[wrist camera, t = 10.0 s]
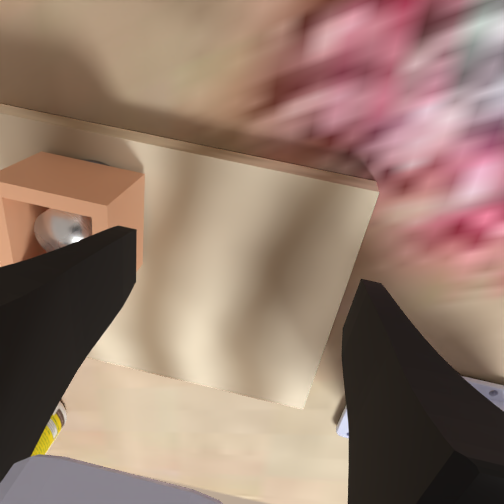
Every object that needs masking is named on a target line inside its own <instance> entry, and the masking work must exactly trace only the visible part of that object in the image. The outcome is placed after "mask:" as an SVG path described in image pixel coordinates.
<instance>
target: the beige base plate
mask: <svg viewBox="0 0 504 504" xmlns="http://www.w3.org/2000/svg"><path fill="white" fill-rule="evenodd" d="M41 151H42V152H47V153H51V154H56V155H61V156H65V157H70V158H74V159H79V160H82V159H89V160H96V161H99V162H103V163H105V164H107V165H109V166H111V167H116V168H120V169H125V170H130V171H134V172H139V173H143V174H145V191H144V232H143V264H142V266H141V267H140V268H139V270H138V271H137V272H136V283H135V285H134V287H133V289H132V291H131V293H130V295H129V297H128V299H127V300H126V302H125V304H124V306H123V307H122V309H121V310H120V312H119V313H118V314H117V316H116V317H115V319H114V320H113V321H112V323H111V324H110V326H109V327H108V328H107V330H106V331H105V332H104V334H103V335H102V336H101V338H100V339H99V340H98V342H97V343H96V345H95V346H94V347H93V349H92V350H91V351H90V353H89V354H88V355H87V357H86V358H89V359H94V360H98V361H102V362H106V363H110V364H114V365H119V366H123V367H127V368H131V369H135V370H139V371H144V372H148V373H152V374H156V375H160V376H164V377H169V378H173V379H177V380H181V381H185V382H189V383H194V384H198V385H202V386H206V387H210V388H214V389H219V390H223V391H227V392H231V393H235V394H239V395H244V396H248V397H252V398H256V399H260V400H264V401H269V402H273V403H277V404H281V405H285V406H289V407H294V408H298V409H302V410H303V409H304V406H305V403H306V400H307V397H308V394H309V392H310V389H311V386H312V383H313V380H314V377H315V374H316V372H317V369H318V366H319V363H320V360H321V357H322V355H323V352H324V349H325V346H326V343H327V340H328V338H329V335H330V332H331V329H332V326H333V323H334V320H335V318H336V315H337V312H338V309H339V306H340V303H341V301H342V298H343V295H344V292H345V289H346V286H347V283H348V281H349V278H350V275H351V272H352V269H353V266H354V264H355V261H356V258H357V255H358V252H359V249H360V246H361V244H362V241H363V238H364V235H365V232H366V229H367V227H368V224H369V221H370V218H371V215H372V212H373V210H374V207H375V204H376V201H377V198H378V195H379V189H378V186H377V183H376V181H373V180H368V179H363V178H358V177H353V176H348V175H344V174H339V173H334V172H329V171H324V170H319V169H315V168H310V167H305V166H300V165H295V164H290V163H285V162H281V161H276V160H271V159H266V158H261V157H256V156H252V155H247V154H242V153H237V152H232V151H227V150H223V149H218V148H213V147H208V146H203V145H198V144H194V143H189V142H184V141H179V140H174V139H169V138H165V137H160V136H155V135H150V134H145V133H140V132H136V131H131V130H126V129H121V128H116V127H111V126H107V125H102V124H97V123H92V122H87V121H82V120H78V119H73V118H68V117H63V116H58V115H53V114H48V113H44V112H39V111H34V110H29V109H24V108H19V107H15V106H10V105H5V104H0V170H2V169H4V168H6V167H8V166H11V165H13V164H15V163H17V162H19V161H21V160H24V159H26V158H28V157H30V156H32V155H35V154H37V153H39V152H41Z"/></svg>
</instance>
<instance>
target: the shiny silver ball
mask: <svg viewBox="0 0 504 504" xmlns="http://www.w3.org/2000/svg"><path fill="white" fill-rule="evenodd" d="M82 160H84V161H88V162H93V163H97V164H102V165H107V164H105V163H103V162H99V161H96V160H89V159H82ZM107 166H109V165H107ZM34 232H35V236H36V238H37V241H38V242H39V244H40V245H41V246H42V248H43V249H44V250H45V251H46V252H50V251H53V250H56V249H58V248H61V247H64V246H67V245H69V244H72V243H74V242H76V241H79V240H81V239H84V238H86V237H89V236H91V235H92V217H88V216H83V215H79V214H75V213H70V212H66V211H61V210H57V209H52V208H49V209H48V210H46V211H45V212H43V213H42V214H40V215H39V216H38V217H37V219H36V221H35V224H34Z"/></svg>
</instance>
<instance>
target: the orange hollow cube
mask: <svg viewBox="0 0 504 504" xmlns="http://www.w3.org/2000/svg"><path fill="white" fill-rule="evenodd" d="M144 191H145V174H143V173H139V172H134V171H130V170H125V169H120V168H116V167H111V166H107V165H102V164H97V163H93V162H88V161H84V160H79V159H74V158H70V157H65V156H61V155H56V154H51V153H47V152H42V151H41V152H39V153H37V154H35V155H32V156H30V157H28V158H26V159H24V160H21V161H19V162H17V163H15V164H13V165H11V166H8V167H6V168H4V169H2V170H0V266H1V267H2V266H6V265H10V264H14V263H17V262H20V261H24V260H27V259H30V258H33V257H36V256H39V255H42V254H44V253H47V252H46V251H45V250H44V249H43V248H42V246H41V245H40V244H39V242H38V241H37V238H36V236H35V232H34V224H35V221H36V219H37V217H38V216H39V215H40V214H42V213H43V212H45V211H46V210H48V209H49V208H52V209H57V210H61V211H66V212H70V213H75V214H79V215H83V216H88V217H92V235H94V234H96V233H99V232H101V231H104V230H106V229H109V228H112V227H115V226H118V225H119V226H123V227H128V228H132V229H137V245H136V272H137V271H138V270H139V268H140V267H141V266H142V264H143V232H144Z"/></svg>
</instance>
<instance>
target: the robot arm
mask: <svg viewBox="0 0 504 504" xmlns="http://www.w3.org/2000/svg"><path fill="white" fill-rule="evenodd" d="M136 245H137V229H132V228H128V227H123V226H119V225H118V226H115V227H112V228H109V229H106V230H104V231H101V232H99V233H96V234H94V235H91V236H89V237H86V238H84V239H81V240H79V241H76V242H74V243H72V244H69V245H67V246H64V247H61V248H58V249H56V250H53V251H50V252H47V253H44V254H42V255H39V256H36V257H33V258H30V259H27V260H24V261H20V262H17V263H14V264H10V265H6V266H2V267H0V504H223V503H222V502H221V501H219V500H217V499H214V498H212V497H210V496H208V495H205V494H202V493H200V492H198V491H195V490H193V489H189V488H185V487H181V486H177V485H173V484H170V483H166V482H162V481H158V480H154V479H150V478H146V477H142V476H138V475H134V474H130V473H126V472H122V471H119V470H115V469H111V468H107V467H103V466H99V465H95V464H91V463H87V462H83V461H79V460H75V459H71V458H67V457H62V456H52V455H41V454H38V455H35V456H31V455H32V453H33V451H34V449H35V447H36V445H37V443H38V441H39V439H40V437H41V435H42V433H43V431H44V429H45V427H46V425H47V424H48V422H49V420H50V418H51V416H52V414H53V413H54V411H55V409H56V407H57V405H58V403H59V402H60V400H61V398H62V396H63V394H64V393H65V391H66V389H67V387H68V386H69V384H70V382H71V381H72V379H73V377H74V375H75V374H76V372H77V370H78V369H79V367H80V366H81V364H82V363H83V361H84V360H85V358H86V357H87V355H88V354H89V353H90V351H91V350H92V349H93V347H94V346H95V345H96V343H97V342H98V340H99V339H100V338H101V336H102V335H103V334H104V332H105V331H106V330H107V328H108V327H109V326H110V324H111V323H112V321H113V320H114V319H115V317H116V316H117V314H118V313H119V312H120V310H121V309H122V307H123V306H124V304H125V302H126V300H127V299H128V297H129V295H130V293H131V291H132V289H133V287H134V285H135V283H136ZM342 366H343V376H344V386H345V396H346V406H345V409H344V411H343V413H342V415H341V418H340V420H339V422H338V425H337V427H336V432H337V434H338V435H339V436H342V437H346V438H349V476H348V504H504V385H499V384H495V383H490V382H486V381H482V380H477V379H473V378H469V377H464V376H461V375H460V374H459V373H458V372H456V371H455V370H454V369H453V368H452V367H451V366H450V365H449V364H448V363H447V362H446V361H445V360H444V359H443V358H442V357H441V356H440V355H439V354H438V353H437V352H436V351H435V349H434V348H433V347H432V346H431V345H430V344H429V343H428V342H427V341H426V339H425V338H424V337H423V336H422V335H421V334H420V332H419V331H418V330H417V329H416V328H415V326H414V325H413V324H412V323H411V321H410V320H409V319H408V318H407V316H406V315H405V314H404V313H403V311H402V310H401V309H400V307H399V306H398V305H397V303H396V302H395V301H394V299H393V298H392V297H391V295H390V294H389V293H388V291H387V290H386V289H385V288H384V286H383V285H382V284H381V283H377V282H373V281H368V280H364V279H361V281H360V284H359V286H358V289H357V292H356V295H355V297H354V300H353V303H352V305H351V308H350V311H349V313H348V316H347V319H346V321H345V324H344V327H343V335H342ZM493 390H494V391H493Z"/></svg>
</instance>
